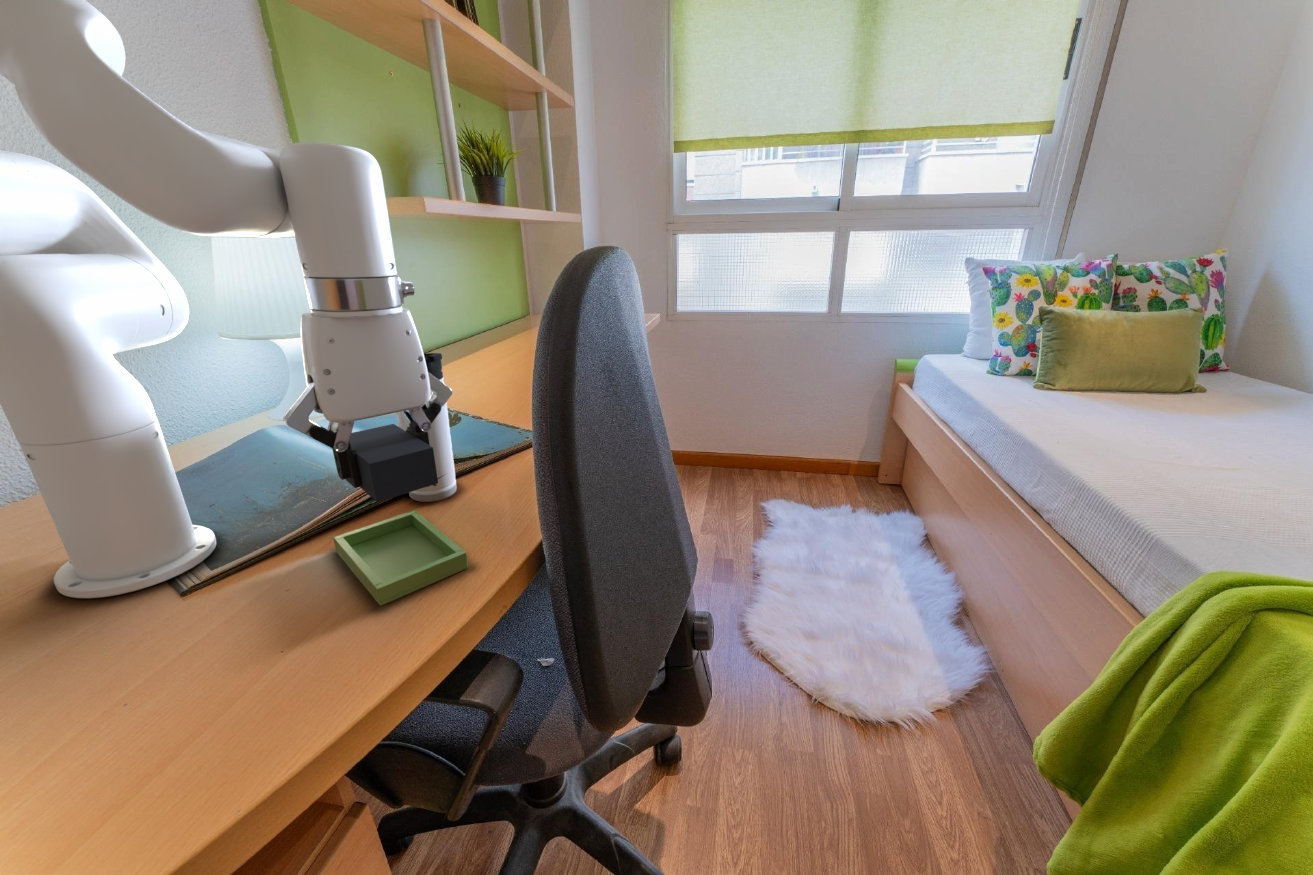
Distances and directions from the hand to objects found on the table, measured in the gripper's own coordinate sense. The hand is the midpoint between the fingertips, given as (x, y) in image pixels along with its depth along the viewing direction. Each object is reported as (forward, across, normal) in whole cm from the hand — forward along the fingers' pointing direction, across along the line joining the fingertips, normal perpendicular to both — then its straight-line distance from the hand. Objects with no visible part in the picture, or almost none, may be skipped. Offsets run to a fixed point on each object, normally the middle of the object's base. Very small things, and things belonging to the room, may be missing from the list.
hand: (388, 471), depth 54 cm
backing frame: (+11, 0, 0) cm, 11 cm away
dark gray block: (+1, 0, 0) cm, 1 cm away
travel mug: (+11, -10, -14) cm, 20 cm away
